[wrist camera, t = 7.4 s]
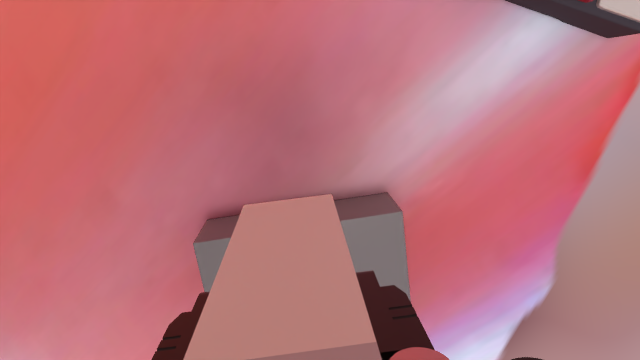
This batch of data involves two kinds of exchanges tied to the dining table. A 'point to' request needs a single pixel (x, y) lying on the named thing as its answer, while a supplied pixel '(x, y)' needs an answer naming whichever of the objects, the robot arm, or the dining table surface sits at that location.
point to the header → (359, 230)
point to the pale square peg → (285, 290)
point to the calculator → (592, 14)
